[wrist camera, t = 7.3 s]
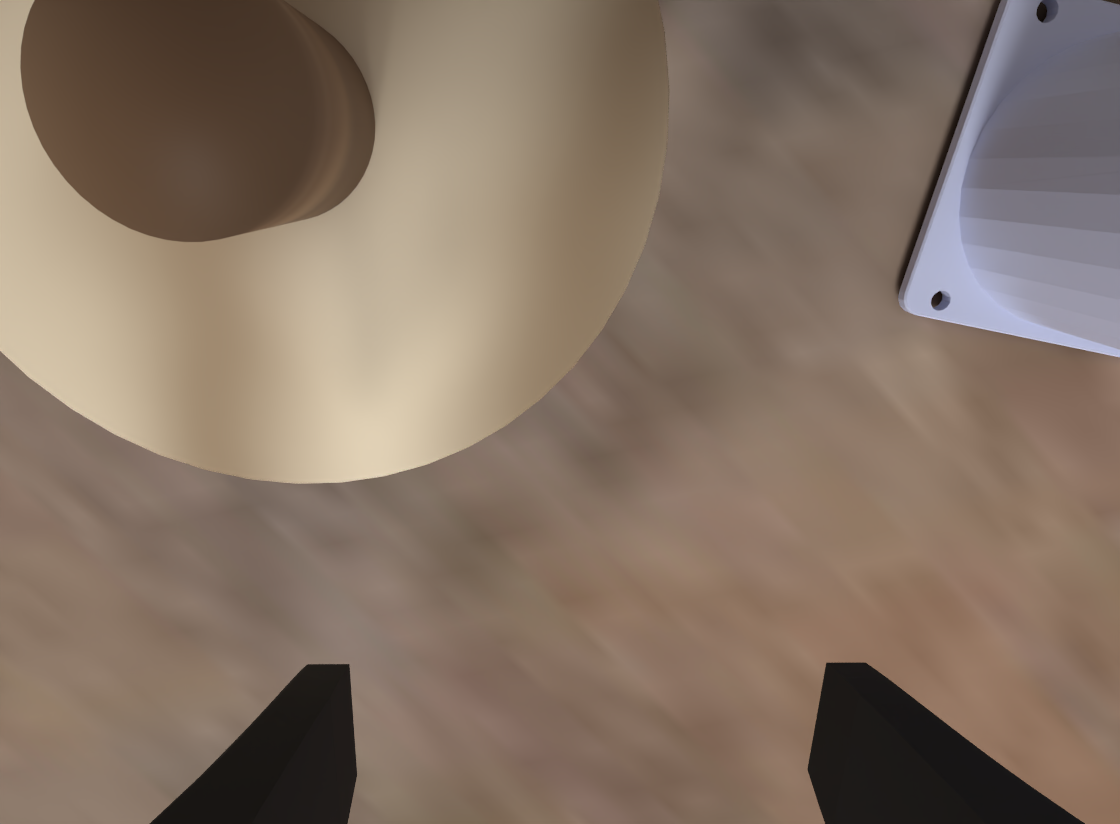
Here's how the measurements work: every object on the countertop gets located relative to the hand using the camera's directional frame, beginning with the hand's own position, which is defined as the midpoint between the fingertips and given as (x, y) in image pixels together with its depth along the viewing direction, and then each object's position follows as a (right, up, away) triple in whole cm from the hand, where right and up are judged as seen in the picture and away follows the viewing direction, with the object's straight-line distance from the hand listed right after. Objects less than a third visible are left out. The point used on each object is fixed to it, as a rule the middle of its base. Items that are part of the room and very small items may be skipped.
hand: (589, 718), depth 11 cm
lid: (-6, +10, +3) cm, 12 cm away
